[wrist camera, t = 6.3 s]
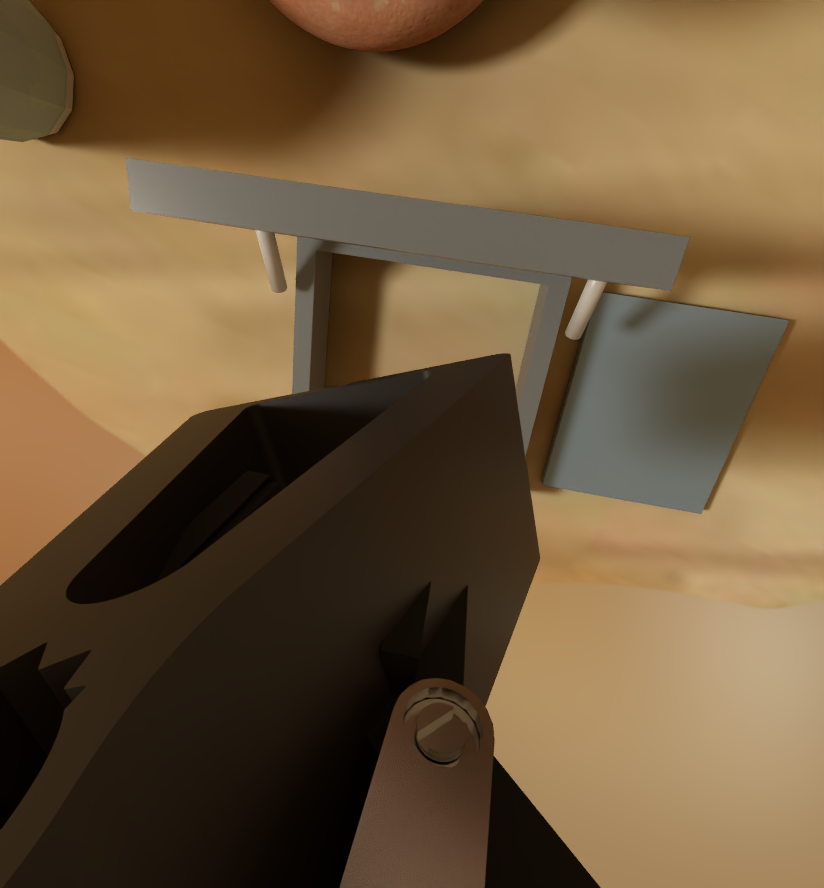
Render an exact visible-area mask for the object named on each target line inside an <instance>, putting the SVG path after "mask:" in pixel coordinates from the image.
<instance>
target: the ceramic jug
mask: <svg viewBox="0 0 824 888" xmlns="http://www.w3.org/2000/svg"><path fill="white" fill-rule="evenodd" d="M268 1H269V2H270V3H271V4H272V5H273V6H275V7H276V8H277V9H278V10H279V11H280V12H281V13H282V14H283V15H285V16H286V17H287V18H288V19H289V20H291V21H292V22H293V23H295V24H296V25H297V26H299V27H301V28H302V29H304V30H305V31H307V32H309V33H311V34H312V35H314V36H316V37H318V38H320V39H322V40H324V41H326V42H329V43H331V44H334V45H338V46H341V47H345V48H349V49H355V50H360V51H375V52H377V51H392V50H399V49H404V48H409V47H412V46H416V45H419V44H422V43H424V42H427V41H429V40H431V39H433V38H435V37H437V36H439V35H441V34H442V33H444V32H446V31H448V30H449V29H450V28H452V27H453V26H455V25H456V24H458V23H459V22H460V21H462V20H463V19H464V18H465V17H466V16H468V15H469V14H470V13H471V12H472V11H473V10H475V9H476V8H477V7H478V6H479V5H480V4H481V3H482V2H483V1H484V0H268Z"/></svg>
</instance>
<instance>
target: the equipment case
mask: <svg viewBox="0 0 824 888" xmlns="http://www.w3.org/2000/svg"><path fill="white" fill-rule="evenodd" d="M126 166H127V176H128V186H129V197H130V207H131V211H137V212H143V213H150V214H156V215H163V216H169V217H175V218H182V219H188V220H194V221H201V222H207V223H214V224H220V225H226V226H233V227H239V228H245V229H252V230H255V231H256V235H257V238H258V242H259V246H260V249H261V253H262V256H263V260H264V263H265V267H266V271H267V274H268V278H269V281H270V285H271V289H272V291H273V292H276V293H281V292H284V291H285V290H286V289H287V284H286V280H285V276H284V271H283V267H282V263H281V259H280V255H279V251H278V247H277V242H276V238H275V234H274V233H277V234H284V235H290V236H296V237H297V266H296V296H295V327H294V357H293V388H292V394H296V393H301V392H306V391H311V390H317V389H322V388H324V387H325V371H326V355H327V339H328V323H329V307H330V290H331V274H332V258H333V253H339V254H345V255H352V256H359V257H365V258H372V259H379V260H385V261H392V262H399V263H405V264H412V265H418V266H425V267H432V268H438V269H445V270H452V271H458V272H465V273H472V274H478V275H485V276H492V277H498V278H505V279H512V280H518V281H525V282H531V283H538V284H541V285H540V289H539V293H538V297H537V302H536V306H535V310H534V314H533V318H532V323H531V327H530V331H529V335H528V340H527V344H526V348H525V352H524V357H523V361H522V365H521V369H520V374H519V378H518V382H517V386H516V396H517V403H518V410H519V417H520V424H521V430H522V437H523V444H524V451H525V456H526V453H527V449H528V445H529V441H530V437H531V433H532V430H533V426H534V422H535V418H536V414H537V410H538V407H539V403H540V399H541V395H542V391H543V387H544V384H545V380H546V376H547V372H548V368H549V364H550V361H551V357H552V353H553V349H554V345H555V341H556V338H557V334H558V330H559V326H560V322H561V318H562V315H563V311H564V307H565V303H566V299H567V295H568V292H569V288H570V284H571V280H572V278H579V279H587V280H588V281H587V283H586V285H585V288H584V290H583V292H582V294H581V297H580V299H579V301H578V304H577V306H576V308H575V310H574V313H573V315H572V317H571V320H570V322H569V324H568V326H567V329H566V331H565V335H566V336H567V337H568V338H570V339H573V340H577V339H580V338H581V336H582V334H583V332H584V329H585V327H586V325H587V323H588V321H589V319H590V317H591V315H592V313H593V311H594V309H595V307H596V305H597V303H598V301H599V299H600V296H601V294H602V292H603V290H604V288H605V286H606V284H607V282H609V283H617V284H624V285H632V286H639V287H646V288H654V289H661V290H669V291H672V288H673V285H674V282H675V279H676V277H677V274H678V271H679V268H680V265H681V262H682V259H683V256H684V253H685V251H686V248H687V245H688V242H689V239H690V237H687V236H680V235H673V234H666V233H659V232H651V231H644V230H637V229H630V228H623V227H616V226H609V225H601V224H594V223H587V222H580V221H573V220H566V219H559V218H552V217H544V216H537V215H530V214H523V213H516V212H509V211H502V210H494V209H487V208H480V207H473V206H466V205H459V204H452V203H444V202H437V201H430V200H423V199H416V198H409V197H402V196H394V195H387V194H380V193H373V192H366V191H359V190H352V189H344V188H337V187H330V186H323V185H316V184H309V183H302V182H295V181H287V180H280V179H273V178H266V177H259V176H252V175H245V174H237V173H230V172H223V171H216V170H209V169H202V168H195V167H187V166H180V165H173V164H166V163H159V162H152V161H145V160H137V159H130V158H126Z"/></svg>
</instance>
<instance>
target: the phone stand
mask: <svg viewBox="0 0 824 888" xmlns="http://www.w3.org/2000/svg"><path fill="white" fill-rule="evenodd" d="M247 471H251V472H256V473H261V474H266V475H272V476H273V477H274V478H275V483H279V484H281V486H282V491H281V492H279V493H278V494H277V495H275V496H274V497H273V498H272V499H270V500H269V501H268V502H266V503H265V504H264V505H263V506H261V507H260V508H259V509H257V510H256V511H255V512H253V513H252V514H251V515H250V516H248V517H247V518H246V519H244V520H243V521H242V522H241V523H239V524H238V525H237V526H235V527H234V528H233V529H232V530H230V531H229V532H228V533H226V534H225V535H224V536H222V537H221V538H220V539H219V540H217V541H216V542H215V543H213V544H212V545H211V546H210V547H208V548H207V549H206V550H204V551H203V552H202V553H201V554H199V555H198V556H197V557H195V558H194V559H193V560H191V561H190V562H189V563H187V564H186V565H185V566H183V567H182V568H180V569H179V570H177V571H175V572H174V573H172V574H170V575H169V576H167V577H165V578H163V579H161V580H160V581H158V582H156V581H157V579H158V577H159V576H160V574H161V572H162V570H163V568H164V566H165V565H166V563H167V561H168V559H169V557H170V556H171V554H172V552H173V550H174V548H175V547H176V545H177V543H178V541H179V539H180V537H181V536H182V534H183V532H184V530H185V528H186V527H187V525H188V523H189V522H191V521H192V520H193V519H194V518H195V517H196V516H197V515H198V514H200V513H201V512H202V511H203V510H204V509H205V508H206V507H207V506H208V505H210V504H211V503H212V502H213V501H214V500H215V499H216V498H217V497H219V496H220V495H221V494H222V493H223V492H224V491H225V490H226V489H228V488H229V487H230V486H231V485H232V484H233V483H234V482H235V481H236V480H238V479H239V478H240V477H241V476H242V475H243V474H244V473H246V472H247ZM539 561H540V554H539V547H538V540H537V533H536V526H535V520H534V513H533V506H532V499H531V492H530V485H529V478H528V472H527V465H526V458H525V451H524V444H523V437H522V430H521V424H520V417H519V410H518V403H517V396H516V389H515V382H514V376H513V369H512V362H511V355H510V354H496V355H491V356H486V357H481V358H475V359H470V360H465V361H460V362H455V363H450V364H445V365H440V366H434V367H429V368H424V369H419V370H414V371H409V372H404V373H399V374H393V375H388V376H383V377H378V378H373V379H368V380H363V381H358V382H352V383H349V384H347V385H343V386H332V387H327V388H322V389H317V390H311V391H306V392H301V393H296V394H291V395H286V396H281V397H276V398H270V399H265V400H260V401H255V402H250V403H245V404H240V405H235V406H229V407H224V408H219V409H214V410H209V411H205V412H202V413H199V414H196V415H194V416H192V417H190V418H189V419H188V420H187V421H186V422H185V423H184V424H182V425H181V426H180V427H179V428H178V429H177V430H176V431H175V432H173V433H172V434H171V435H170V436H169V437H168V438H167V439H166V440H164V441H163V442H162V443H161V444H160V445H159V446H158V447H157V448H155V449H154V450H153V451H152V452H151V453H150V454H149V455H147V456H146V457H145V458H144V459H143V460H142V461H141V462H140V463H138V464H137V465H136V466H135V467H134V468H133V469H132V470H131V471H129V472H128V473H127V474H126V475H125V476H124V477H123V478H122V479H120V480H119V481H118V482H117V483H116V484H115V485H114V486H113V487H111V488H110V489H109V490H108V491H107V492H106V493H105V494H103V495H102V496H101V497H100V498H99V499H98V500H97V501H96V502H95V503H93V504H92V505H91V506H90V507H89V508H88V509H87V510H85V511H84V512H83V513H82V514H81V515H80V516H79V517H78V518H76V519H75V520H74V521H73V522H72V523H71V524H70V525H68V526H67V527H66V528H65V529H64V530H63V531H62V532H61V533H59V534H58V535H57V536H56V537H55V538H54V539H53V540H52V541H50V542H49V543H48V544H47V545H46V546H45V547H44V548H42V549H41V550H40V551H39V552H38V553H37V554H36V555H35V556H33V558H31V559H30V560H29V561H28V562H27V563H25V564H24V565H23V566H22V567H21V568H20V569H19V570H18V571H17V572H16V573H14V574H13V575H12V576H11V577H10V578H9V579H7V580H6V581H5V582H4V583H3V584H2V585H1V586H0V888H340V884H341V881H342V878H343V874H344V871H345V868H346V864H347V861H348V858H349V854H350V851H351V848H352V844H353V841H354V838H355V834H356V831H357V828H358V824H359V821H360V818H361V814H362V811H363V808H364V805H365V801H366V798H367V795H368V791H369V788H370V785H371V772H370V763H369V754H368V745H367V734H368V733H369V731H370V730H371V728H372V727H373V725H374V724H375V722H376V721H377V719H378V718H379V716H380V715H381V713H382V712H383V710H384V709H385V707H386V706H387V704H388V703H389V701H390V700H391V698H392V694H391V691H390V688H389V685H388V682H387V679H386V676H385V673H384V670H383V667H382V664H381V661H380V651H381V647H382V643H383V640H384V639H385V638H386V637H387V635H388V634H389V633H390V632H391V630H392V629H393V628H394V627H395V625H396V624H397V623H398V622H399V620H400V619H401V618H402V617H403V615H404V614H405V613H406V612H407V610H408V609H409V608H410V607H411V605H412V604H413V603H414V602H415V600H416V599H417V598H418V597H419V595H420V594H421V593H422V592H423V591H424V589H425V588H426V587H427V586H428V584H429V583H430V582H431V587H430V593H429V599H428V606H427V612H426V618H425V624H424V631H423V637H422V643H421V649H420V655H421V654H422V652H423V651H424V649H425V648H426V646H427V645H428V643H429V642H430V640H431V639H432V637H433V636H434V634H435V633H436V631H437V630H438V628H439V627H440V625H441V624H442V622H443V621H444V619H445V618H446V616H447V615H448V613H449V612H450V610H451V609H452V607H453V606H454V604H455V603H456V601H457V600H458V599H459V597H460V596H461V594H462V593H463V591H464V590H465V588H466V587H467V585H468V598H467V620H466V643H465V665H464V686H465V687H466V688H467V689H468V690H470V691H471V692H472V693H473V694H475V695H476V696H477V697H478V698H479V700H480V701H481V702H482V704H483V705H484V706H486V703H487V701H488V698H489V695H490V692H491V690H492V687H493V685H494V682H495V679H496V676H497V674H498V671H499V668H500V666H501V663H502V660H503V658H504V655H505V652H506V650H507V647H508V644H509V642H510V639H511V636H512V633H513V631H514V628H515V625H516V623H517V620H518V617H519V614H520V612H521V609H522V607H523V604H524V601H525V598H526V596H527V593H528V590H529V588H530V585H531V582H532V580H533V577H534V574H535V572H536V569H537V566H538V564H539ZM419 657H420V656H419Z"/></svg>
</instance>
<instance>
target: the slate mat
mask: <svg viewBox="0 0 824 888" xmlns="http://www.w3.org/2000/svg"><path fill="white" fill-rule="evenodd" d="M789 321H790V320H784V319H778V318H771V317H765V316H758V315H751V314H745V313H738V312H731V311H725V310H718V309H711V308H705V307H698V306H691V305H685V304H678V303H671V302H665V301H658V300H651V299H645V298H638V297H632V296H625V295H618V294H612V293H605V292H602V294H601V296H600V299H599V301H598V303H597V305H596V307H595V309H594V311H593V313H592V315H591V317H590V319H589V321H588V323H587V325H586V327H585V329H584V332H583V335H582V339H581V343H580V346H579V350H578V353H577V357H576V360H575V364H574V367H573V371H572V374H571V378H570V381H569V385H568V388H567V392H566V396H565V399H564V403H563V406H562V410H561V413H560V417H559V420H558V424H557V427H556V431H555V434H554V438H553V441H552V445H551V449H550V452H549V456H548V459H547V463H546V466H545V470H544V473H543V477H542V480H541V482H542V485H544V486H549V487H555V488H560V489H566V490H571V491H577V492H582V493H588V494H593V495H599V496H604V497H610V498H615V499H621V500H626V501H632V502H637V503H643V504H648V505H654V506H659V507H665V508H671V509H676V510H682V511H687V512H693V513H698V514H701V513H702V511H703V509H704V507H705V504H706V502H707V500H708V498H709V496H710V494H711V491H712V489H713V487H714V485H715V483H716V480H717V478H718V476H719V474H720V472H721V469H722V467H723V465H724V463H725V461H726V458H727V456H728V454H729V452H730V450H731V448H732V445H733V443H734V441H735V439H736V437H737V434H738V432H739V430H740V428H741V426H742V423H743V421H744V419H745V417H746V415H747V413H748V410H749V408H750V406H751V404H752V402H753V399H754V397H755V395H756V393H757V391H758V388H759V386H760V384H761V382H762V380H763V377H764V375H765V373H766V371H767V369H768V367H769V364H770V362H771V360H772V358H773V356H774V353H775V351H776V349H777V347H778V345H779V342H780V340H781V338H782V336H783V334H784V331H785V329H786V327H787V325H788V323H789Z"/></svg>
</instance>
